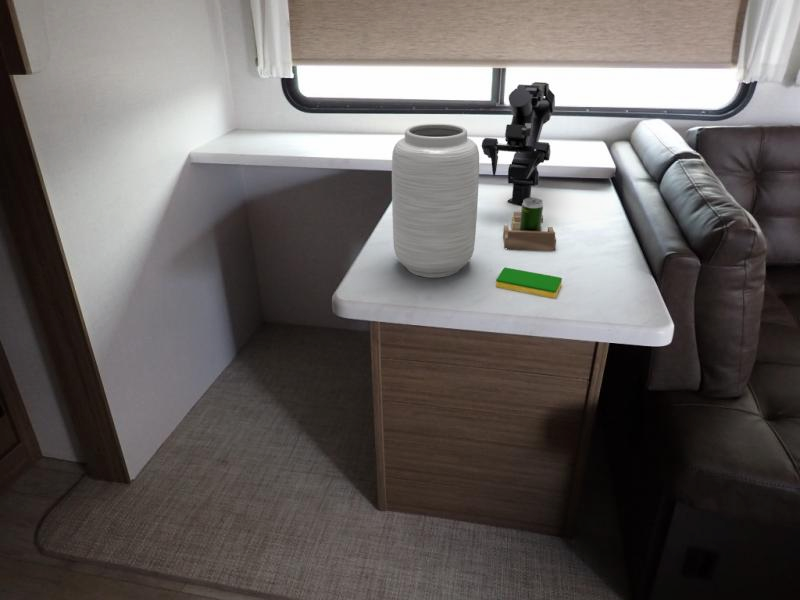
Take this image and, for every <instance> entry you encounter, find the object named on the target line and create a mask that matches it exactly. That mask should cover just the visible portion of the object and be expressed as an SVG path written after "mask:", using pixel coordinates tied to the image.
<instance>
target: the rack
mask: <svg viewBox="0 0 800 600" xmlns="http://www.w3.org/2000/svg"><path fill="white" fill-rule="evenodd" d="M502 234H503V235H502V236H503V237H502V238H503V245H504V247H503V248H504V249H505V248H507V249H506V250H508V249H509V250H512V251H513V250H514V251H515V250H516V251H536V252H537V251H538V252H539V251H540V252H541V251H543V252H554V251H555V250H556V246H557V245H556V244H557V237H556V232H555V230H554V228H553V226H547V231H543V230H541V231H516V230H512V229H510V228H509V224H507V225H505V224H504V225H503V233H502Z"/></svg>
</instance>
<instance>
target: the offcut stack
mask: <svg viewBox="0 0 800 600" xmlns="http://www.w3.org/2000/svg"><path fill="white" fill-rule="evenodd" d="M520 221H521V211H513V216H512V217H511V226H510V227H511V228H510V229H511V230H516V231H520ZM543 223H544V215H543V214H542V219H541V224H543ZM540 231H542V226H541V227H540Z"/></svg>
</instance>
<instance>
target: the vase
mask: <svg viewBox="0 0 800 600" xmlns="http://www.w3.org/2000/svg"><path fill="white" fill-rule="evenodd" d="M479 180H480V153H479V147H478V145H477V143H476V142H475V141H474V140H472V139H471V138H469V137H468V130H467V129H466V128H464V127H463V126H460V125H456V124H449V123H423V124H416V125H412V126H409V127H407V128H406V129H405V131H404V137H403V138H401V139H400V140H398V141H397V142H396V143H395V145H394V146H393V151H392V157H391V204H392V205H391V206H392V207H391V208H392V209H391V210H392V211H391V212H392V241H393V250H394V254H395V256H396V258H397V260H398V261H399V263H401V264H402V265H403V266H404V267H405V268H406V269H407V271H408V272H410V273H412V274H413V275H416V276H420V277H423V278H430V279H432V278H433V279H434V278H437V279H438V278H445V277H449V276H452V275H455V274H458V272H459V271H460V270H461V269H462V268H463V267H464V266H465V265H467V264H468V263H469V261H470V260H471V259H472V257H473V254H474V251H475V244H476V243H475V242H476V232H477V217H478V203H479V199H478V198H479V183H480V182H479Z"/></svg>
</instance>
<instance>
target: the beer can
mask: <svg viewBox="0 0 800 600" xmlns="http://www.w3.org/2000/svg"><path fill="white" fill-rule="evenodd" d="M543 209H544V204H543V200H542V199H540V198H537V197H530V198H526V199H524V200H523V203H522V205H521V211H520V212H521V221H520V231H540V227H541V228H542V225H541V224H542V223H541V219H542V215H543Z"/></svg>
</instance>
